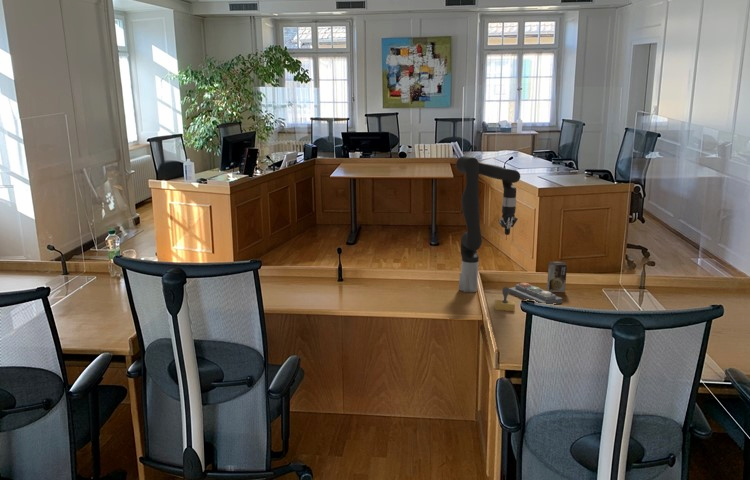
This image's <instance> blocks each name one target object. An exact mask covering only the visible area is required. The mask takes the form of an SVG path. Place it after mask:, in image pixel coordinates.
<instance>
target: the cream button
mask: <svg viewBox="0 0 750 480" xmlns="http://www.w3.org/2000/svg"><path fill="white" fill-rule="evenodd" d="M551 293H552V292H549V291H548V290H545V291H542V292H541V295H544V296H546V297H547V296H551Z"/></svg>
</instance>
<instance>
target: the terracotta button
mask: <svg viewBox="0 0 750 480" xmlns="http://www.w3.org/2000/svg"><path fill="white" fill-rule="evenodd" d="M519 284H520V286H521V287H524V288H526V287H529V286H530V285H531V284H530V283H528V282H520V283H519Z"/></svg>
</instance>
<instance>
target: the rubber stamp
mask: <svg viewBox="0 0 750 480" xmlns="http://www.w3.org/2000/svg"><path fill="white" fill-rule="evenodd" d="M509 288H510V287H508V286H504V287H503V288H502V292H501V293H502V295H503V299H495V302H494V310H496V311H504V310H505V312H516V311H515V307H516V301H514V300H507V298H508V296H509V294H510V293H509Z"/></svg>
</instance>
